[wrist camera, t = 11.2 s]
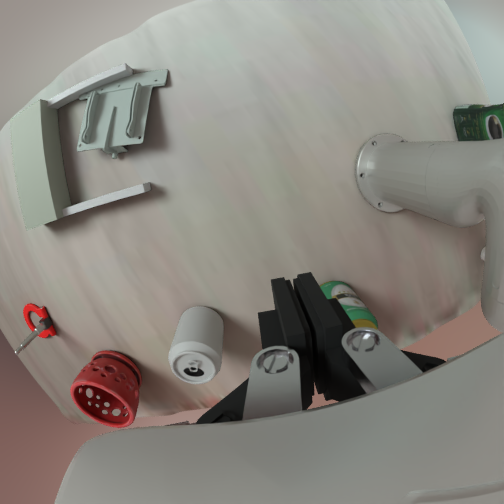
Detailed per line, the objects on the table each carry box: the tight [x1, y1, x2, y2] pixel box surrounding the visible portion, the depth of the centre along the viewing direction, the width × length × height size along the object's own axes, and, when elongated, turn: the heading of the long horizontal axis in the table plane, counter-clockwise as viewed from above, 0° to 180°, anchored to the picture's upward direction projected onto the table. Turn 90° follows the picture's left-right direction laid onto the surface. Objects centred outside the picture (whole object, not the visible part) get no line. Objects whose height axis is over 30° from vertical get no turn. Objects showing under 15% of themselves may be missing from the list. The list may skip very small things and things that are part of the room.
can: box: [168, 306, 224, 384], centre depth 39 cm, size 8×8×12 cm
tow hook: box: [15, 303, 56, 355], centre depth 38 cm, size 8×13×9 cm
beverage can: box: [320, 281, 378, 330], centre depth 39 cm, size 8×8×12 cm
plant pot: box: [70, 350, 142, 428], centre depth 42 cm, size 13×13×12 cm
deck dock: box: [10, 63, 151, 231], centre depth 32 cm, size 23×20×5 cm
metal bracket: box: [77, 69, 168, 159], centre depth 32 cm, size 14×6×15 cm
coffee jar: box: [453, 103, 504, 141], centre depth 26 cm, size 10×8×19 cm
